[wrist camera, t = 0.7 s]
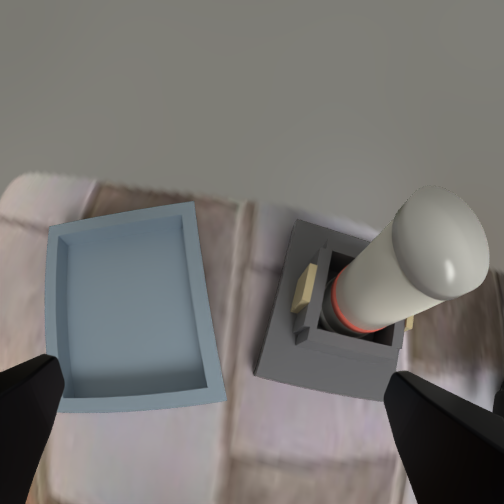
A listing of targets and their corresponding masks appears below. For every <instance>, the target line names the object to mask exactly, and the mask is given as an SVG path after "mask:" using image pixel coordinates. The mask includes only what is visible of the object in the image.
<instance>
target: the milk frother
mask: <svg viewBox="0 0 504 504" xmlns="http://www.w3.org/2000/svg"><path fill="white" fill-rule="evenodd" d="M493 413H494V414H496V415H499V416H501V417H503V419H504V382H503V385H502V388H501V391H499V392H497V393H496V395H495V399H494V405H493Z"/></svg>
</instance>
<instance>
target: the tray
mask: <svg viewBox="0 0 504 504" xmlns="http://www.w3.org/2000/svg"><path fill="white" fill-rule="evenodd" d="M45 337H46V353H47V354H48V355H52V356H55V357H57V358H58V360H59V363H60V367H61V370H62V373H63V377H64V380H65V388H64V391H63V394H62V397H61V400H60V404H59V407H58V410H57V412H63V413H108V412H131V411H146V410H158V409H168V408H178V407H186V406H194V405H202V404H208V403H215V402H221V401H227V397H226V393H225V388H224V383H223V378H222V373H221V367H220V362H219V357H218V352H217V346H216V341H215V335H214V330H213V324H212V318H211V313H210V307H209V301H208V295H207V288H206V282H205V276H204V269H203V263H202V256H201V249H200V242H199V235H198V228H197V220H196V212H195V205H194V201H191V202H184V203H177V204H170V205H164V206H157V207H151V208H145V209H139V210H133V211H127V212H121V213H115V214H110V215H104V216H99V217H94V218H88V219H83V220H78V221H73V222H68V223H63V224H59V225H54V226H49V234H48V244H47V256H46V273H45Z"/></svg>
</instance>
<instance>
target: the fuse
mask: <svg viewBox="0 0 504 504" xmlns="http://www.w3.org/2000/svg"><path fill="white" fill-rule="evenodd" d="M489 259H490V258H489V247H488V242H487V238H486V236H485V232H484V230H483V227H482V225H481V223H480V221H479V220H478V218H477V216H476V215H475V213H474V212H473V211H472V209H471V208H470V207H469V206H468V205H467V204H466V203H465V202H464V201H463V200H462V199H461V198H460V197H459V196H457V195H456V194H454V193H453V192H451V191H449V190H447V189H445V188H442V187H438V186H425V187H422V188H419V189H418V190H416V191H415V192H414V193H413V194H412V196H411V197H410V198H409V199H408V200H407V201H406V202H405V204H404V205H403V206H402V207H401V208H400V209H399V210H398V212H397V213H396V215H395V217H394V219H393V220H392V221H391V222H390V223H389V224H388V225H387V226H386V227H385V228H384V230H382V231H381V233H380V234H379V235H378V236H377V237H376V238H375V239H374V240H373V241H372V242H371V243H370V244H369V245H368V246H367V247H366V248H365V249H364V250H363V251H362V252H361V253H360V254H359V255H358V256H357V257H356V258H355V259H354V260H353V261H352V262H351V263H350V264H348V265H347V266H346V267H345V268H344V269H343V270H342V271H341V272H340V273H339V274H338V275H337V276H336V277H334V278H333V279H331V280H330V281H329V282H328V283H327V284H326V286H325V291H324V296H323V301H322V306H321V311H320V316H319V320H318V323H319V325H320V327H321V328H322V329H323V330H325V331H328V332H332V333H336V334H340V335H345V336H349V337H353V338H357V339H359V338H361V337H364V336H366V335H367V334H369V333H372V332H375V331H378V330H381V329H383V328H385V327H386V326H389V325H391V324H394V323H396V322H398V321H401V320H403V319H406V318H408V317H410V316H413V315H415V314H417V313H420V312H422V311H424V310H426V309H429V308H431V307H433V306H435V305H437V304H440V303H442V302H444V301H448V300H453V299H456V298H458V297H460V296H462V295H464V294H466V293H468V292H470V291H472V290H474V289H476V288H477V287H479V286H480V285H481V284H482V282H483V281H484V279H485V277H486V275H487V272H488V268H489Z"/></svg>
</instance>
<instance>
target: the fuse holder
mask: <svg viewBox="0 0 504 504" xmlns="http://www.w3.org/2000/svg"><path fill="white" fill-rule="evenodd" d="M370 243H371V242H368V241H365V240H362V239H359V238H355V237H352V236H349V235H346V234H343V233H340V232H337V231H334V230H331V229H328V228H324V227H321V226H318V225H315V224H312V223H308V222H305V221H302V220H299V219H297V220H296V222H295V225H294V227H293V230H292V234H291V238H290V242H289V246H288V250H287V254H286V258H285V262H284V266H283V270H282V274H281V277H280V281H279V285H278V289H277V293H276V297H275V300H274V304H273V308H272V312H271V315H270V319H269V323H268V326H267V330H266V334H265V337H264V341H263V345H262V348H261V352H260V355H259V359H258V362H257V366H256V369H255V373H254V376H257V377H260V378H264V379H268V380H272V381H276V382H280V383H284V384H289V385H293V386H297V387H302V388H307V389H311V390H316V391H321V392H326V393H331V394H337V395H342V396H348V397H354V398H360V399H366V400H373V401H380V402H384V400H383V398H384V393H385V391H386V388H387V385H388V383H389V380H390V378H391V375H392V374H393V373H394V372H396V366H397V360H398V354H399V349H402V344H403V337H404V332H405V331H407V330H410V329H412V326H413V316H414V315H413V316H410V317H408V318H406V319H403V320H401V321H398V322H396V323H394V324H391V325H389V326H386V327H385V328H383V329H381V330H378V331H375V332H372V333H369V334H367V335H366V336H364V337H361V338H359V339H357V338H353V337H349V336H345V335H340V334H336V333H332V332H328V331H325V330H323V329H322V328H321V327H320V325H319V323H318V320H319V316H320V311H321V306H322V301H323V296H324V291H325V286H326V284H327V283H328V282H329V281H330V280H331V279H333V278H334V277H336V276H337V275H338V274H339V273H340V272H341V271H342V270H343V269H344V268H345V267H346V266H347V265H348V264H350V263H351V262H352V261H353V260H354V259H355V258H356V257H357V256H358V255H359V254H360V253H361V252H362V251H363V250H364V249H365V248H366V247H367V246H368V245H369V244H370Z"/></svg>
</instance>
